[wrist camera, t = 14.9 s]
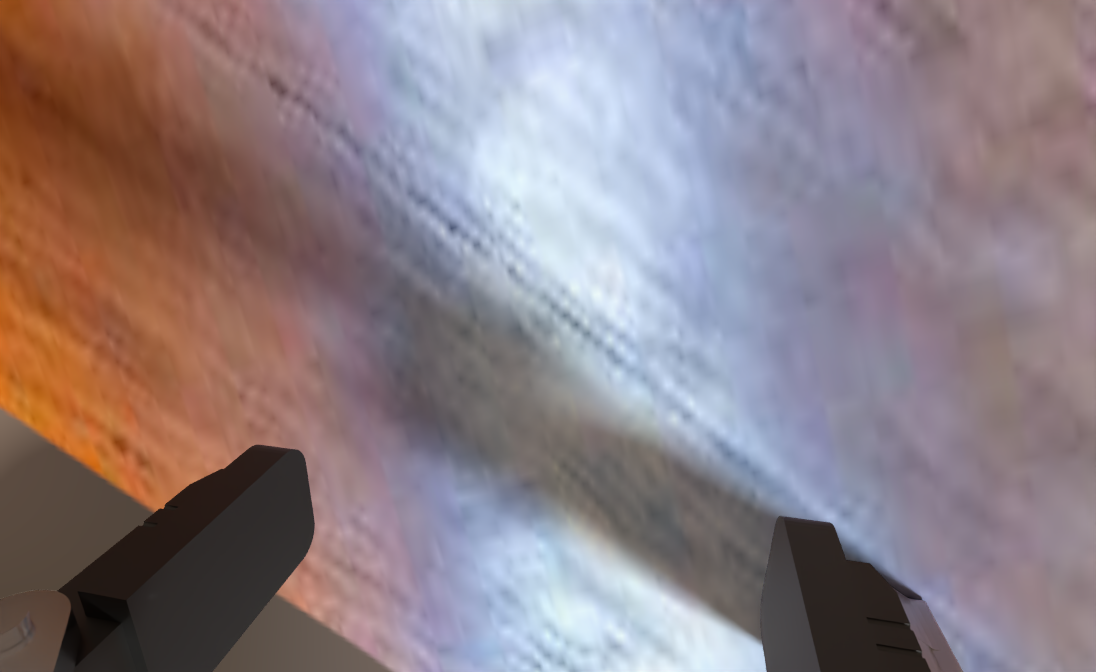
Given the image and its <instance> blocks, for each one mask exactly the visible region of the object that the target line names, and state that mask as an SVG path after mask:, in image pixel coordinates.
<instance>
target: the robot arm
mask: <svg viewBox="0 0 1096 672" xmlns="http://www.w3.org/2000/svg"><path fill="white" fill-rule="evenodd" d="M314 525H315V523H314V515H313V508H312V501H311V495H310V488H309V481H308V474H307V468H306V462H305V458H304V456H303V454H302V453H301V452H300V451H299V450H295V449H287V448H280V447H272V446H265V445H254V446H252V447H250V448H249V449H248V450H246V451H245V452H244V453H243V454H242V455H240V456H239V457H238V458H237V459H236V460H234V461H233V462H232V463H231V464H229V465H228V466H227V467H226V468H225V469H221V470H218V471H216V472H214V473H212V474H210V475H208V476H206V477H204V478H202V479H200V480H198V481H196V482H194V483H192V484H190V485H189V486H187V487H186V488H185V489H184V490H182V491H181V492H180V493H179V494H177V495H176V496H175V497H174V498H172V499H171V500H170V501H169V502H167V503H166V504H165V507H164V509H159V510H158V511H156V512H155V513H154V514H153V515H151V516H150V517H149V518H148V519H146V520H145V521H144V525H143V526H138V527H136V528H135V529H134V530H133V531H131V532H130V533H129V534H128V535H126V536H125V537H124V538H123V539H121V540H120V541H119V542H118V543H116V544H115V545H114V546H113V547H111V548H110V549H109V550H108V551H107V552H105V553H104V554H103V555H101V556H100V557H99V558H98V559H97V560H95V561H94V562H93V563H92V564H90V565H89V566H88V567H86V568H85V569H84V570H83V571H82V572H81V573H79V574H78V575H77V576H75V577H74V578H73V579H72V580H70V581H69V582H68V583H67V584H65V585H64V586H63V587H62V588H60V589H59V590H58V591H51V590H33V591H27V592H22V593H18V594H14V595H11V596H7V597H4V598H2V599H0V672H213V670H214V669H215V668H216V667H217V665H218V664H219V663H220V662H221V660H222V659H223V658H224V657H225V655H226V654H227V653H228V652H229V651H230V649H231V648H232V647H233V645H234V644H235V643H236V642H237V641H238V639H239V638H240V637H241V636H242V634H243V633H244V632H245V631H246V629H247V628H248V627H249V625H250V624H251V623H252V622H253V621H254V619H255V618H256V617H257V616H258V614H259V613H260V612H261V611H262V610H263V608H264V607H265V606H266V605H267V603H268V602H269V601H270V599H271V598H272V597H273V596H274V595H275V593H276V592H277V591H278V590H279V588H280V587H281V586H282V585H283V584H284V582H285V581H286V580H287V579H288V577H289V576H290V575H291V574H292V572H293V571H294V570H295V569H296V567H297V566H298V565H299V564H300V562H301V561H302V560H303V559H304V557H305V556H306V554H307V552H308V550H309V548H310V545H311V542H312V539H313V535H314ZM761 636H762V643H763V650H764V656H765V663H766V670H767V672H963V671H962V669H961V667H960V665H959V663H958V661H957V659H956V657H955V656H954V654H953V652H952V650H951V648H950V646H949V644H948V642H947V641H946V639H945V637H944V635H943V633H942V631H941V629H940V627H939V626H938V624H937V622H936V620H935V618H934V616H933V614H932V612H931V610H930V609H929V607H928V605H927V603H926V602H925V601H923V600H914V599H910V598H907V597H906V596H904V595H902V594H901V593H900V592H898V591H897V590H896V589H894V588H893V587H891V586H890V585H889V583H888V582H887V581H886V580H885V579H884V578H883V577H882V576H881V575H880V574H879V573H878V572H877V571H876V570H875V568H874V567H873V566H872V565H871V564H870V563H863V562H856V561H849V560H846V558H845V555H844V553H843V550H842V547H841V544H840V541H839V538H838V536H837V533H836V530H835V528H834V526H833V524H831V523H828V522H821V521H813V520H806V519H798V518H791V517H784V516H779V517H778V519H777V521H776V525H775V529H774V534H773V539H772V545H771V550H770V555H769V560H768V566H767V571H766V576H765V581H764V587H763V592H762V599H761Z"/></svg>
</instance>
